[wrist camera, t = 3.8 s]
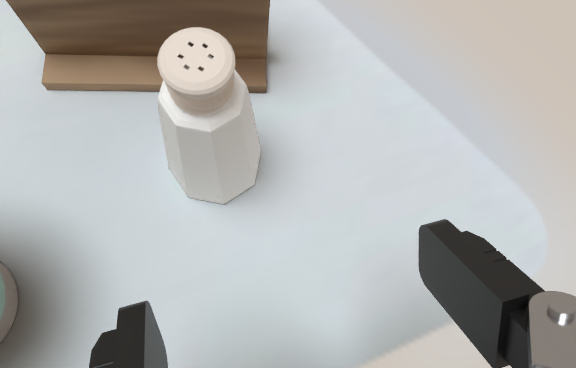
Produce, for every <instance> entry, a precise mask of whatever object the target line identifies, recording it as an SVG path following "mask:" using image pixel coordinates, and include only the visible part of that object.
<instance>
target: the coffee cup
mask: <svg viewBox="0 0 576 368" xmlns="http://www.w3.org/2000/svg"><path fill="white" fill-rule="evenodd" d="M17 308H18V291H17V286H16V283H15V280H14V278H13V276H12V274H11V272H10V271H9V270H8V268H7V267H6V266H5V265H4V264H3V263H1V262H0V343H1V342H2V341H3V339H4V338H5V337H6V335H7V334H8V332H9V330H10V328H11V327H12V324H13V322H14V319H15V316H16V313H17Z"/></svg>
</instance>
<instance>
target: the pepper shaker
mask: <svg viewBox="0 0 576 368" xmlns="http://www.w3.org/2000/svg"><path fill="white" fill-rule="evenodd" d="M157 66H158V69H159V72H160V75H161V77H162V79H163V82H162V85H161V89H160V92H159V96H158V110H159V115H160V121H161V127H162V133H163V138H164V144H165V150H166V156H167V162H168V167H169V170H170V171H171V173H172V174H173V176H174V177H175V179H176V180H177V182H178V183H179V185H180V186H181V188H182V189H183V191H184V192H185V194H186V195H187V197H189V198H194V199H199V200H205V201H210V202H215V203H220V204H225V203H227V202H228V201H230V200H231V199H233V198H235V197H236V196H238V195H239V194H241V193H242V192H244V191H246V190H247V189H249V188H250V187H252V186H253V185H255V180H256V175H257V170H258V165H259V160H260V156H261V148H260V143H259V139H258V134H257V129H256V124H255V119H254V115H253V110H252V105H251V100H250V95H249V92H248V88H247V85H246V84H245V82H244V81H243V80H242V78H241V77H240V76H239V74H238V73H237V71H236V70H235V54H234V51H233V49H232V46H231V45H230V43H229V42H228V41H227V39H226V38H224V37H223V36H222V35H220V34H219V33H217V32H215V31H213V30H211V29H206V28H201V27H192V28H187V29H183V30H180V31H178V32H176V33H174V34H172V35H171V36H170V37H169V38H168V39H166V40H165V42H164V43H163V45H162V46H161V48H160V50H159V53H158V57H157Z"/></svg>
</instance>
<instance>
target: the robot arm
mask: <svg viewBox="0 0 576 368" xmlns="http://www.w3.org/2000/svg"><path fill="white" fill-rule="evenodd" d="M419 272H420V275H421V278H422V280H423V282H424V284H425V286H426V287H427V288H428V290H429V291H430V292H431V293H432V295H433V296H434V297H435V298H436V299H437V301H438V302H439V303H440V304H441V306H442V307H443V308H444V309H445V310H446V312H447V313H448V314H449V315H450V317H451V318H452V319H453V320H454V321H455V323H456V324H457V325H458V326H459V327H460V329H461V330H462V331H463V332H464V334H465V335H466V336H467V337H468V338H469V340H470V341H471V342H472V343H473V344H474V346H475V347H476V348H477V349H478V351H479V352H480V353H481V354H482V356H483V357H484V358H485V359H486V360H487V362H488V363H489V364H490V365H491V367H492V368H502V367H505V366H508V365H510V366H511V367H512V368H576V297H575V296H573V295H570V294H567V293H563V292H557V291H544V290H543V289H542V288H541V287H540V286H539V285H537V284H536V283H535V282H534V281H533V280H532V279H530V278H529V277H528V276H527V275H526V274H525V273H523V272H522V271H521V270H520V269H519V268H518V267H516V266H515V265H514V264H513V263H512V262H511V261H510V260H507V259H506V257H505V256H504V255H503V254H501V253H500V252H499V251H496V248H494V247H493V246H492V245H491V244H490V243H489V242H487V241H486V240H485V239H484V238H482V237H480V236H477V235H475V234H473V233H471V232H468V231H464V232H460V231H459V230H458V229H457V228H456V227H455V226H454V225H453V224H452V223H451V222H449V221H448V220H446V219H443V220H440V221H436V222H432V223H429V224H425V225H422V226H421V227H420V228H419ZM89 368H168V363H167V355H166V349H165V345H164V342H163V339H162V336H161V333H160V330H159V328H158V325H157V322H156V319H155V317H154V314H153V311H152V308H151V306H150V303H149V302H148V301H144V302H140V303H136V304H133V305H129V306H125V307H122V308H119V310H118V318H117V329H115V330H111V331H108V332H104V333H102V334H101V336H100V338H99V339H98V341H97V342H96V344H95V346H94V347H93V349H92V352H91V358H90V364H89Z"/></svg>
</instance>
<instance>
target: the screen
mask: <svg viewBox="0 0 576 368" xmlns="http://www.w3.org/2000/svg"><path fill="white" fill-rule="evenodd" d="M6 1H7V2H8V4H9V5H10V6H11V8H12V9H13V10H14V12H15V13H16V14H17V16H18V17H19V19H20V20H21V21H22V23H23V24H24V25H25V27H26V28H27V29H28V31H29V32H30V33H31V35H32V36H33V38H34V39H35V40H36V42H37V43H38V44H39V46H40V47H41V48H42V50H43V51H44V52H45V54H46V56H45V63H44V70H43V77H42V84H43V85H44V86H45V87H46V89H47V90H107V91H160V89H161V85H162V82H163V79H162V77H161V75H160V72H159V69H158V66H157V57H158V53H159V50H160V48H161V46H162V45H163V43H164V42H165V40H166V39H168V38H169V37H170V36H171V35H172V34H174V33H176V32H178V31H180V30H183V29H187V28H192V27H201V28H206V29H211V30H213V31H215V32H217V33H219V34H220V35H222V36H223V37H224V38H226V39H227V41H228V42H229V43H230V45H231V46H232V49H233V51H234V54H235V70H236V71H237V73H238V74H239V76H240V77H241V78H242V80H243V81H244V82H245V84H246V85H247V88H248V92H249V93H266V49H267V35H268V21H269V7H270V0H6Z"/></svg>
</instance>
